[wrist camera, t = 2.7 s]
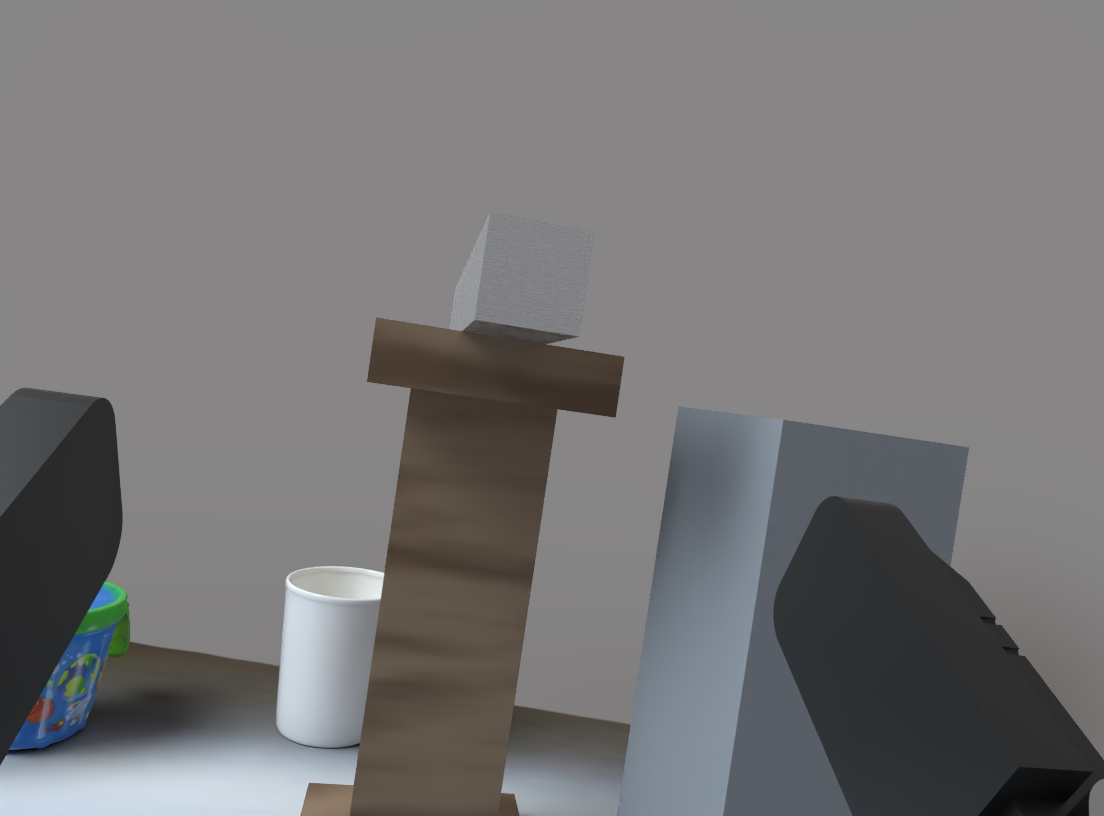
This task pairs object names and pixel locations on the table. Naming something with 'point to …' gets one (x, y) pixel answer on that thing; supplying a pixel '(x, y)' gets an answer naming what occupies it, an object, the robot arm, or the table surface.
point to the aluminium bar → (524, 281)
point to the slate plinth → (753, 608)
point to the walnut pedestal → (459, 564)
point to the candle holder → (327, 654)
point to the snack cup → (79, 672)
